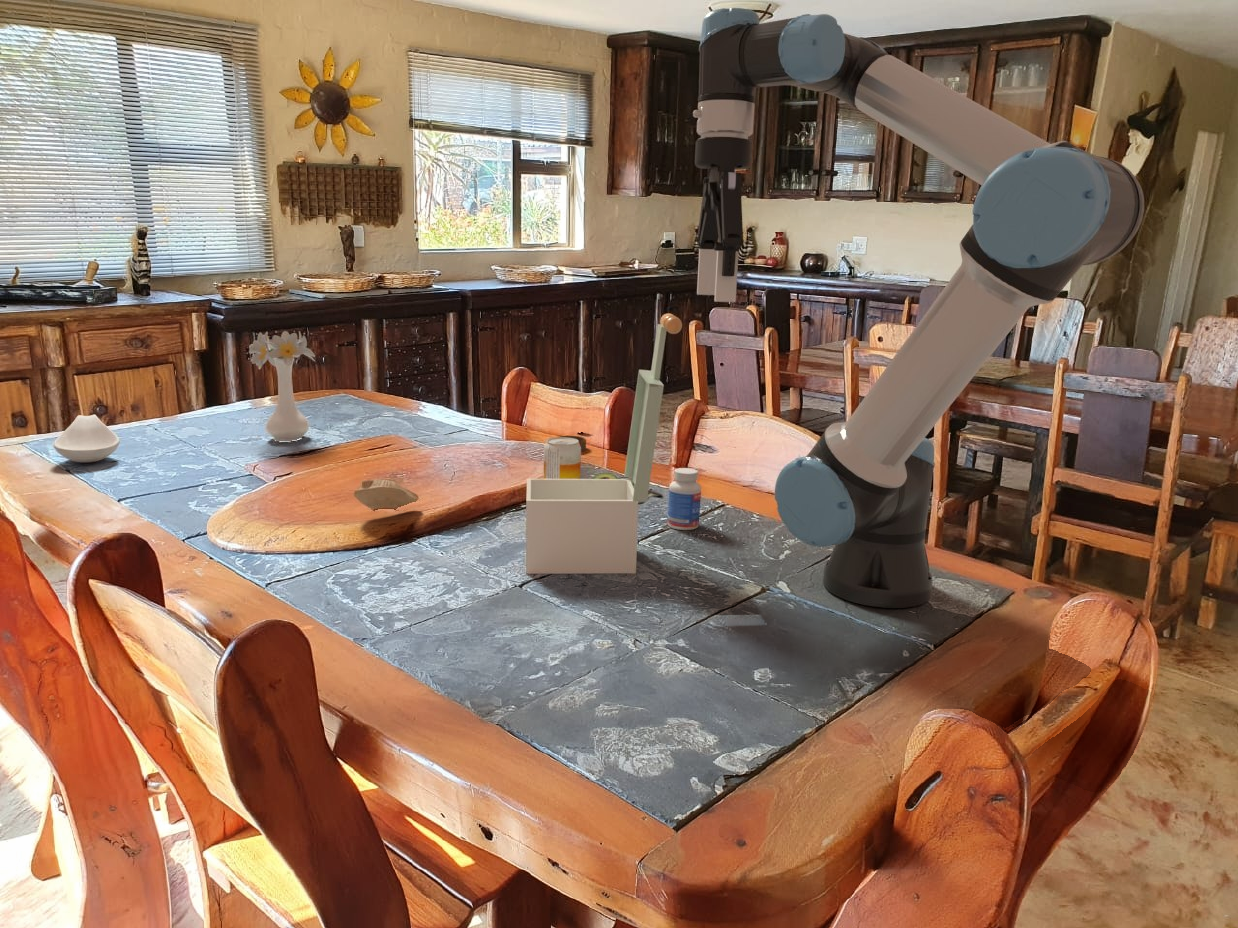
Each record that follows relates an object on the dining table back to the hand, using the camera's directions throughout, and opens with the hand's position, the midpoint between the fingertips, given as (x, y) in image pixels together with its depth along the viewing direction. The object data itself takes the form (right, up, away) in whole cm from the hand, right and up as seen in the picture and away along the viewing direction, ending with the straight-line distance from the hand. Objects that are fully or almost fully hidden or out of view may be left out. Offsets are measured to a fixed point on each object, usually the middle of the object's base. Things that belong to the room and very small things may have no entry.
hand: (715, 298), depth 128 cm
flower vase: (-90, -18, +81) cm, 122 cm away
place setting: (-22, -22, +77) cm, 83 cm away
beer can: (-23, -34, +25) cm, 48 cm away
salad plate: (-13, -30, +45) cm, 56 cm away
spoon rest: (-125, -21, +65) cm, 143 cm away
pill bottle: (-3, -34, +28) cm, 44 cm away
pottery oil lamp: (-53, -32, +30) cm, 69 cm away
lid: (-10, -14, +6) cm, 18 cm away
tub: (-20, -38, +11) cm, 44 cm away
